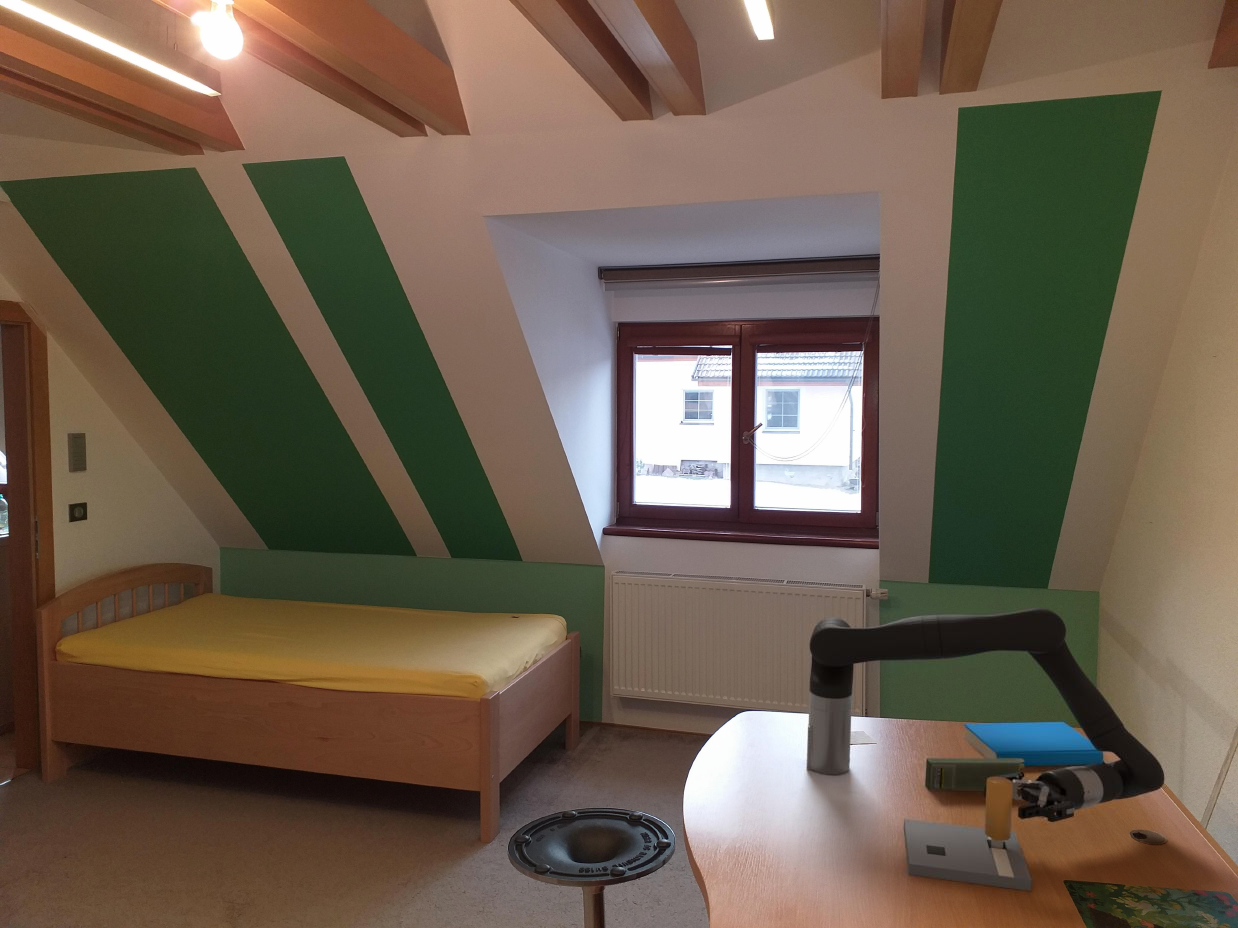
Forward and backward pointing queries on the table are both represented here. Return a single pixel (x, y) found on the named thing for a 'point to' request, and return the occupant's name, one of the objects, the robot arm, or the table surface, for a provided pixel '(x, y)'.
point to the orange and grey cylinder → (998, 810)
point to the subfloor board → (964, 855)
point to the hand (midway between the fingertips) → (1002, 802)
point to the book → (1033, 743)
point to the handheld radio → (967, 772)
